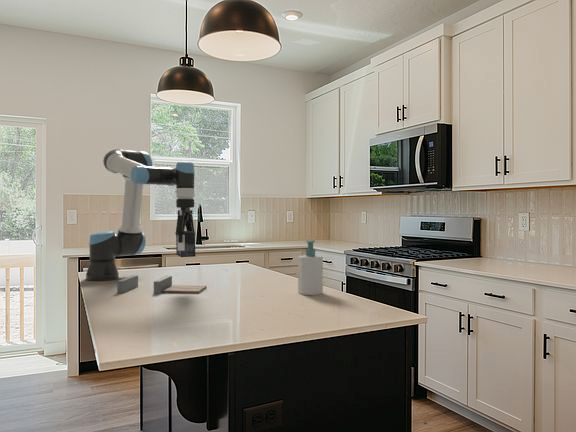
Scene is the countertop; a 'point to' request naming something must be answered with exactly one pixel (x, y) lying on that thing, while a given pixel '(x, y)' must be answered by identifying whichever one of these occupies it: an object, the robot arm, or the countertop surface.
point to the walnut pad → (184, 289)
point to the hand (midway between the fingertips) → (185, 249)
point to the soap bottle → (310, 272)
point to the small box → (187, 245)
